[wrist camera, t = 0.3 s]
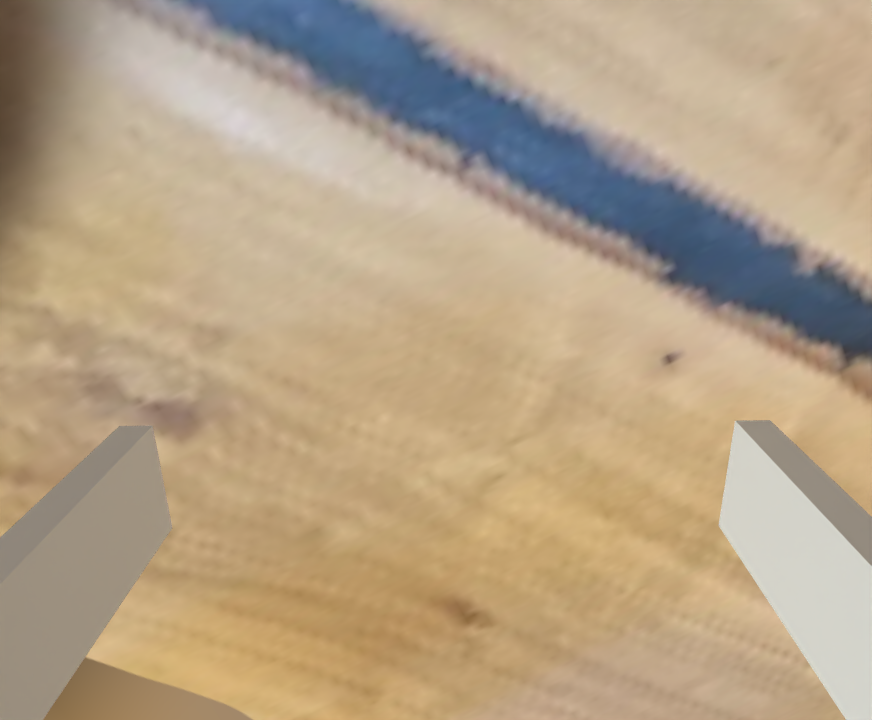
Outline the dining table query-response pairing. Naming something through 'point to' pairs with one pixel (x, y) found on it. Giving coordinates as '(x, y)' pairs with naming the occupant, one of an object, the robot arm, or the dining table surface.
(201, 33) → the dining table surface
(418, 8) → the dining table surface
